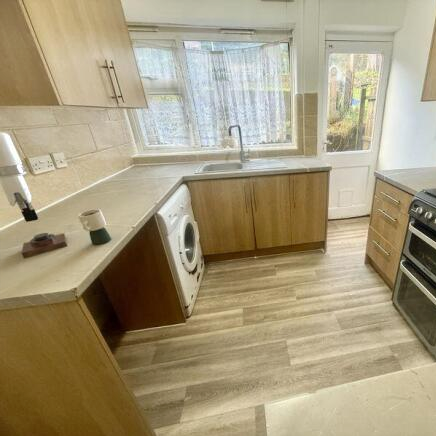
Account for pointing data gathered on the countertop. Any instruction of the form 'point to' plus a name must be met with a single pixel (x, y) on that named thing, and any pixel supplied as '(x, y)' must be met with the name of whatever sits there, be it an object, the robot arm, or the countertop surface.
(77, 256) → the countertop surface
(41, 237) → the button
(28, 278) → the countertop surface
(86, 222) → the character mug
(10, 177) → the robot arm
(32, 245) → the button box
